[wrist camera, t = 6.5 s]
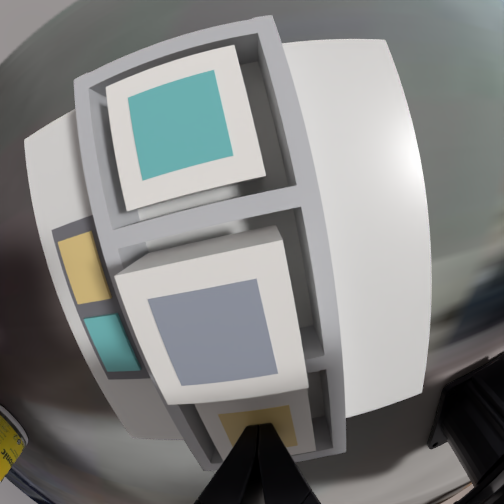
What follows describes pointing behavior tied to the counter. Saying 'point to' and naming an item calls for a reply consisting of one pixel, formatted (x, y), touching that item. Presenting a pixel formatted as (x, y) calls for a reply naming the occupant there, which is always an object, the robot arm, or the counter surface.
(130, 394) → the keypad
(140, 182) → the key
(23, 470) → the counter surface
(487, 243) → the counter surface
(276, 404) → the key
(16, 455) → the supplement bottle
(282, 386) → the key mid
